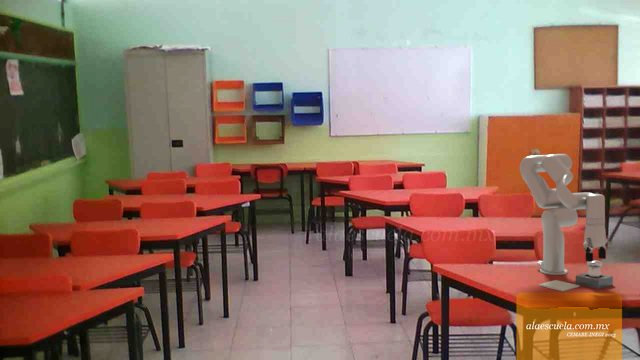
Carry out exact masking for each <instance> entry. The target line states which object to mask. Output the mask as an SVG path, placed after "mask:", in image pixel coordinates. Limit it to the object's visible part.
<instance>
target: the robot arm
mask: <svg viewBox="0 0 640 360" xmlns="http://www.w3.org/2000/svg"><path fill="white" fill-rule="evenodd" d="M572 167H573V161H572V158H571V157H570V156H569V155H568V154H566V153H556V154H554V153H552V154H541V155H528V156H525V157H523V159H522V160H521V161H520V164H519V173H520V175H521V177H522V180H523V181H524V182H525V184H526V186H527V187H528V188H529V191H530V194H531V195H532V196H533V199H534V201H535V203H536V205H537V206H538V208H540V209H545V210H543V212H542V214H541V216H540V217H541V220H540V221H541V225H542V232H543V233H542V235H543V236H542V237H543V245H542V246H543V253H542V254H543V255H542V256H543V258H542V260H538V261H537V262H536V265H537V266H539V267H540V266H541V267H540V268H539V272H540V273H542V274H545V275H549V276H550V275H551V276H562V275H563V276H564V275H567V274H568V269H566V268H565V234H564V232H563V231H562V229H561V228H565V227H572V226H574V225H576V224H577V223H578V219H579V216H578V212H577V210H585V214H586V215H585V216H586V218H585V219H586V221H585V223H586V225H585V227H584V237H583V239H584V240H583V243H582V246H583V250H584V253H585V262H587V261H589V262H593V260H594V253H593V251H594V250H595V249H597V248H598V253H597V254H598V259H602V260H603V259H606V258H607V254H606V253H607V246H608V241H609V239H608V237H607V234H606V233H607V232H606V215H605V214H606V213H605V210H606V209H605V208H606V204H605V202H606V201H605V200H606V198H605V195H603V194H600V193H592V192H588V191H587V192H586V191H585V192H571V190H570V189H569V188H568V187H567V186H568V185H569V184H571V182H572V181H573V179H574V174H573V172H571V168H572ZM538 173H547V174H548V176H549V177H550V179H552V180H553V181H554V183H555V184H556V185H555V188H550V186H549V185H548V184H547V182H546V180H545V178H544V177H542V176H541V175H540V174H538Z"/></svg>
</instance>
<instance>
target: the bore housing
mask: <svg viewBox="0 0 640 360" xmlns="http://www.w3.org/2000/svg"><path fill="white" fill-rule="evenodd" d="M613 283H614V276H612V275H609V274H605V273H604V274H603V273H600V278H597V279H596V278H592V277H588V271H587V272H583V273H580V274H576V275H575V285H579V286H583V287H587V288H590V289H595V290H601V289H604V288H608V287H611V286H613Z"/></svg>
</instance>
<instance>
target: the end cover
mask: <svg viewBox="0 0 640 360" xmlns="http://www.w3.org/2000/svg"><path fill="white" fill-rule="evenodd" d="M602 264H603V262H602V261H600V260H598V259H597V260H596V259H593V262H589V261H586V265H587V270H588V271H587V272H588V277H592V278H596V279H597V278H600V274H601V271H602V269H601V267H602V266H603V265H602Z"/></svg>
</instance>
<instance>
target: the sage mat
mask: <svg viewBox="0 0 640 360" xmlns="http://www.w3.org/2000/svg"><path fill="white" fill-rule="evenodd" d="M538 286H539V287H544V288H548V289H552V290H556V291H559V292H567V291H570V290H573V289H576V288H580V285H577V284H576V283H570V282H566V281H562V280H557V279H554V280H551V281H545V282H543V283H539V284H538Z"/></svg>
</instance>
